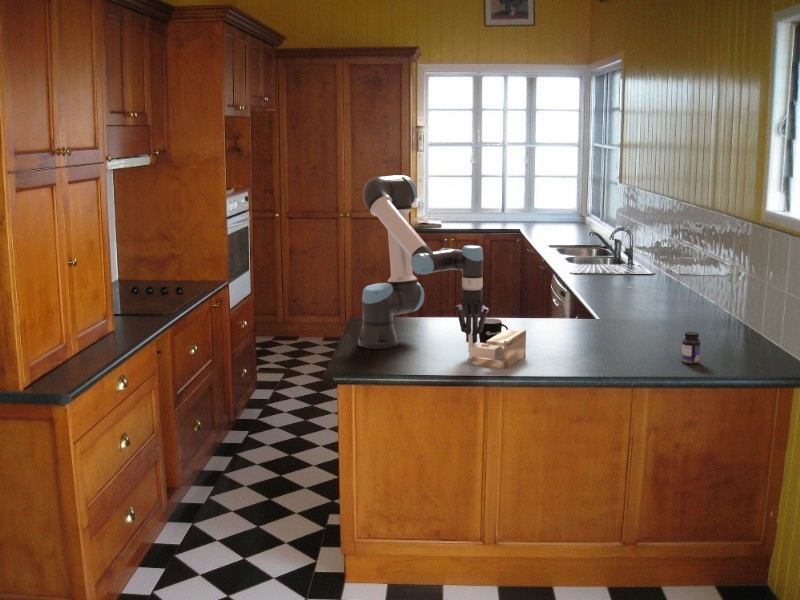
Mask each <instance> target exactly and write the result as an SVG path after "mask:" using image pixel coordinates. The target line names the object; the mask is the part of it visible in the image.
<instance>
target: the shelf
mask: <svg viewBox="0 0 800 600" xmlns="http://www.w3.org/2000/svg"><path fill="white" fill-rule="evenodd" d="M526 343H527V329H523V328H522V329H521V330H512V329H511V330H510V329H508V330H506V329H504V330H501V333H499V334H497V335H496V336H494V337H492V338H490V339H489V340H487V341H486V344H489V345H497V346H502V358H501V359H500V360H498V359H490V358H482V357H474V356H473V357H472V360H471V365H474V364H475V366H476V365H477V366H482V365H484V366H483V367H491V368H496V369H497V368H499V369H504V370H505V369H506V370H507V369H509V368H511V367H512V366H513V365H515V364H516V363H518V362H519V361H521V360H522V359H524V358H525V357H526V355H527V354H526V349H527V344H526ZM524 356H525V357H524ZM521 358H522V359H521ZM520 359H521V360H520ZM518 360H519V361H518ZM517 361H518V362H517ZM514 363H515V364H514ZM510 366H511V367H510Z"/></svg>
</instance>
